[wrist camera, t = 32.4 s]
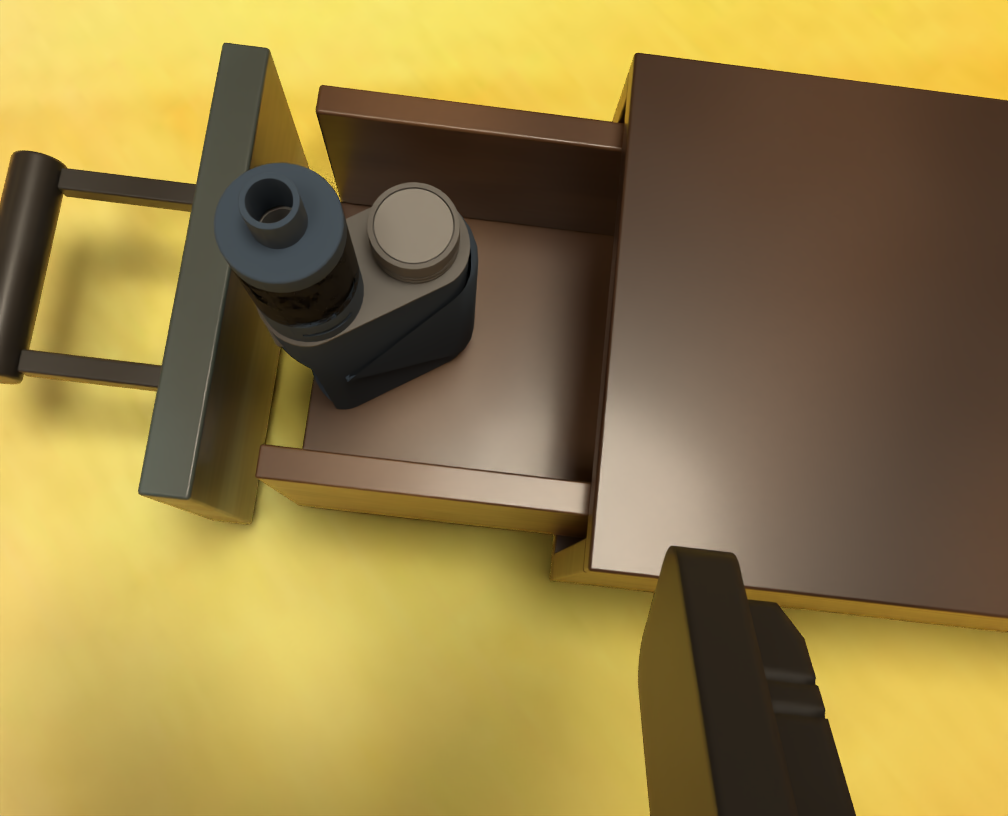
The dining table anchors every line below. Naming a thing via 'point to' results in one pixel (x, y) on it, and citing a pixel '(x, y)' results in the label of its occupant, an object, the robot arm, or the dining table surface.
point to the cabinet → (806, 344)
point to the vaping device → (352, 277)
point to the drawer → (411, 406)
